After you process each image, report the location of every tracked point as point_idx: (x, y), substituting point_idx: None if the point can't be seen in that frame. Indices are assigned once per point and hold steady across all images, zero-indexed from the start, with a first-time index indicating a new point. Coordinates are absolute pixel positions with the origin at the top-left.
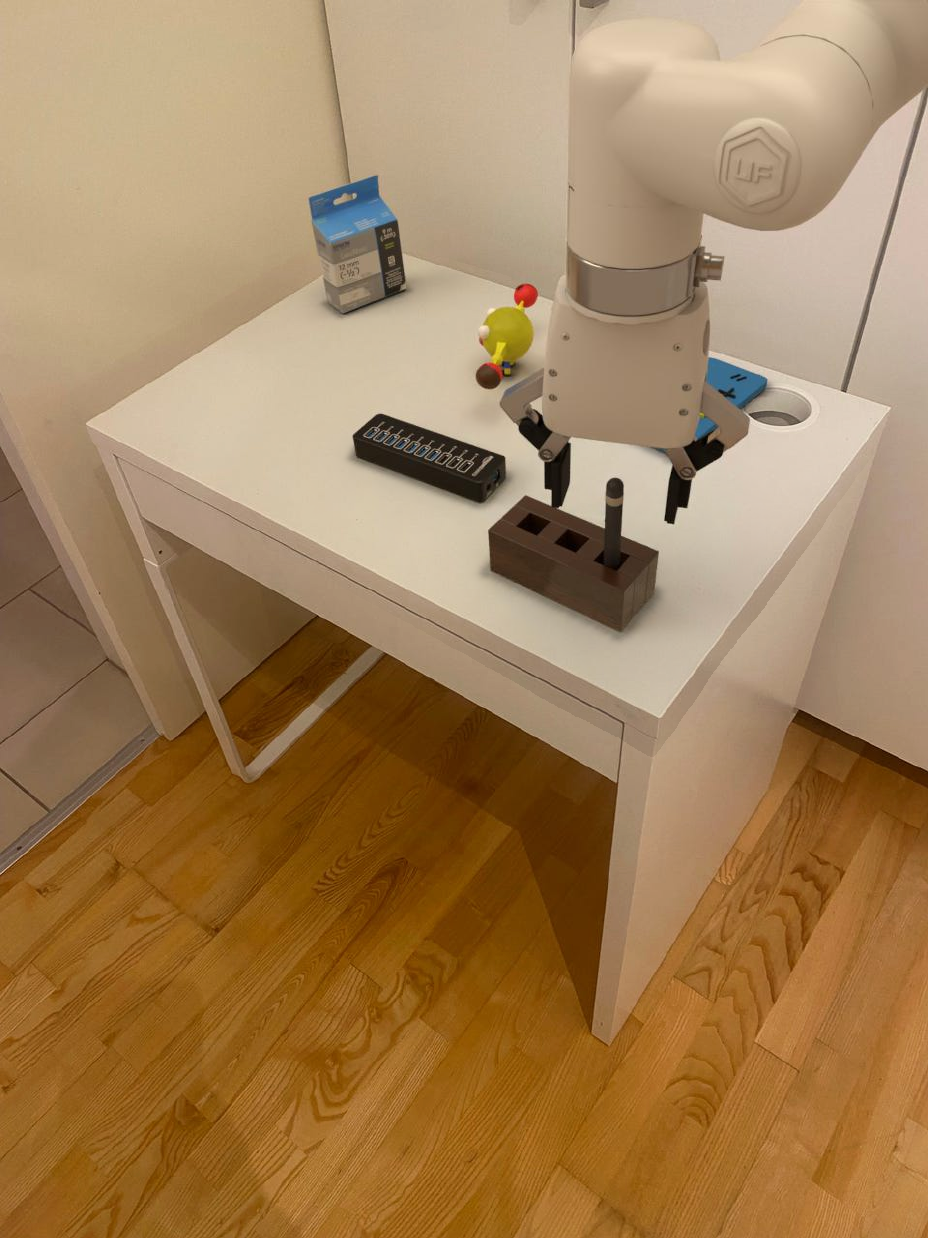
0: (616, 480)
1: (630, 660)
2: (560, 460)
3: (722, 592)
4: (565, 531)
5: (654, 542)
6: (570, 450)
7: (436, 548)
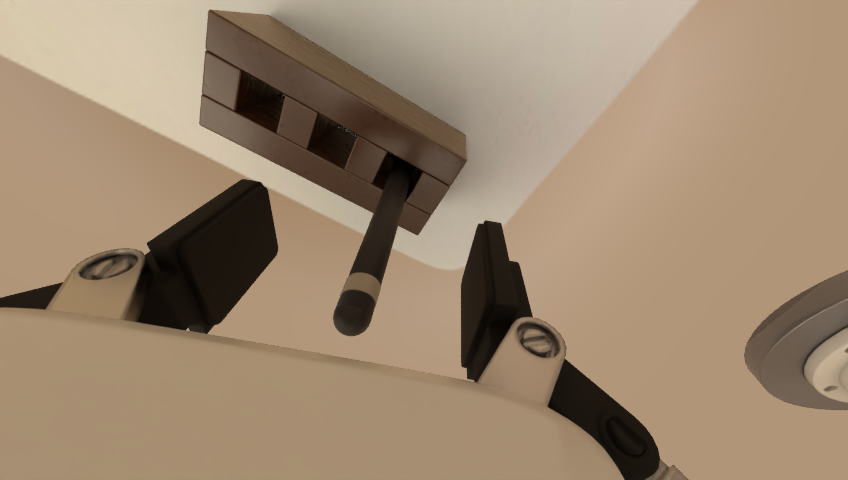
0: (349, 332)
1: (436, 232)
2: (200, 320)
3: (557, 128)
4: (316, 120)
5: (473, 12)
6: (205, 235)
7: (158, 61)
